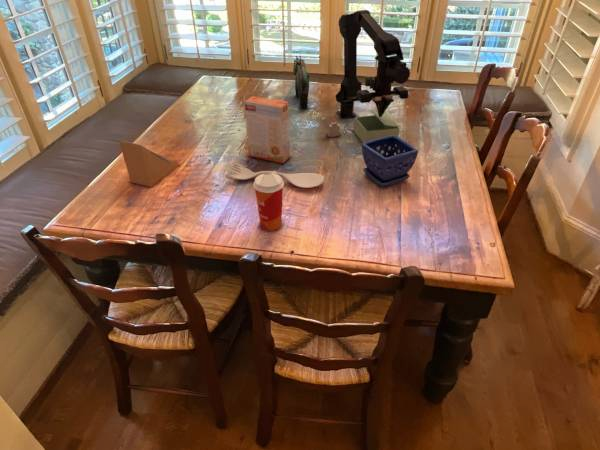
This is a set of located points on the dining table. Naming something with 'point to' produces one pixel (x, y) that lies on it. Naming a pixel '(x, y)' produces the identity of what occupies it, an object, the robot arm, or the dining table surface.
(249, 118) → the cracker box
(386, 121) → the flap
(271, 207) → the coffee cup
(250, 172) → the spoon
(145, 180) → the sandwich container
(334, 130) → the lighter
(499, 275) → the dining table surface
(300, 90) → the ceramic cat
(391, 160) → the flower pot
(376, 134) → the carton
